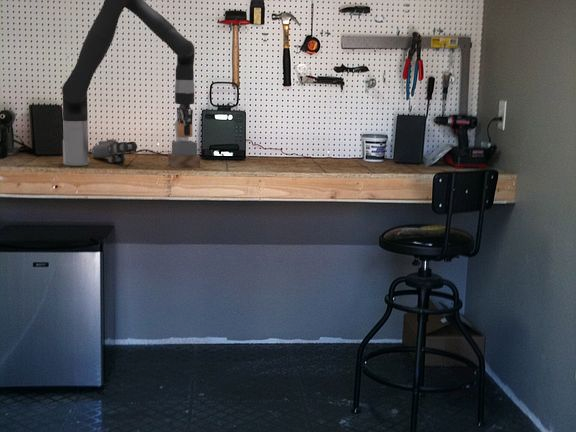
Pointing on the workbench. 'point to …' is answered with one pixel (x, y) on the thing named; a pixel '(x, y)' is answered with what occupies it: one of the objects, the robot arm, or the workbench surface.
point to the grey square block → (184, 148)
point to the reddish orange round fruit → (182, 130)
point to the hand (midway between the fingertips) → (184, 134)
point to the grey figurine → (180, 137)
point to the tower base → (183, 161)
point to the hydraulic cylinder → (113, 150)
